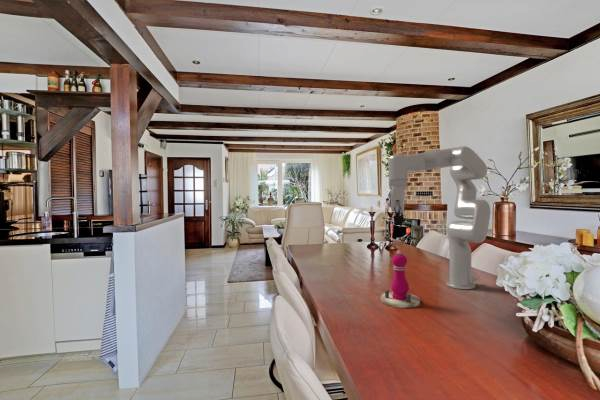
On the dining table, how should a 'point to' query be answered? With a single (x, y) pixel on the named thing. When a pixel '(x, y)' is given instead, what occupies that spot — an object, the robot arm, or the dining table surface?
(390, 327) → the dining table surface
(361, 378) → the dining table surface
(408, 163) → the robot arm
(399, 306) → the dowel board
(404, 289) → the pepper mill
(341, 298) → the dining table surface
